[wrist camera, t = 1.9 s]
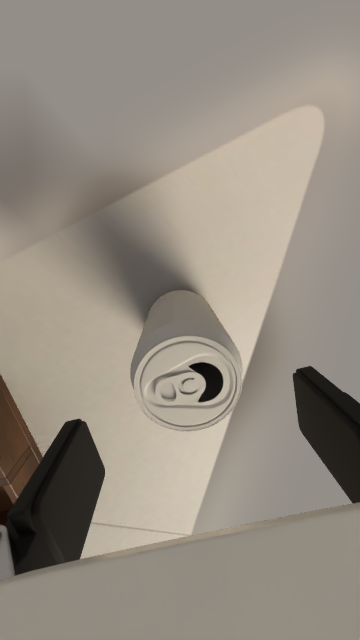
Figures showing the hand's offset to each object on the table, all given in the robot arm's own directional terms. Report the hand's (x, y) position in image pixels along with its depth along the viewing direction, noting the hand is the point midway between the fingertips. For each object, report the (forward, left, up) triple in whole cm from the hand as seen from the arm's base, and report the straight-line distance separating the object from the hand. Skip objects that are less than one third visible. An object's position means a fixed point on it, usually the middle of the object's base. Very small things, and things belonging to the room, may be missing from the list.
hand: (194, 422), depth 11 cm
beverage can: (0, 0, -14) cm, 14 cm away
